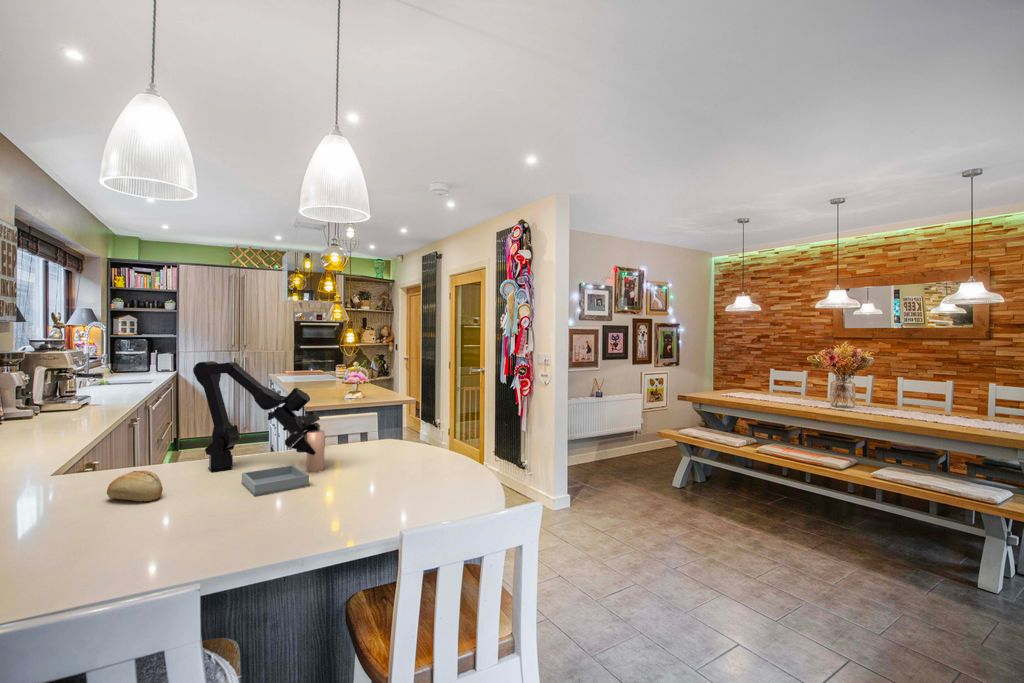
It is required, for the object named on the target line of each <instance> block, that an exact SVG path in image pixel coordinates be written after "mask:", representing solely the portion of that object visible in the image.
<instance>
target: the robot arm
mask: <svg viewBox="0 0 1024 683" xmlns="http://www.w3.org/2000/svg"><path fill="white" fill-rule="evenodd" d="M192 372H193V374H194V377H195V379H196V381H197V382H198V383H199V384H200V386H201V387H202V388H203V392H204V393H205V397H206V401H207V406H208V409H209V412H210V416H211V420H212V423H213V429H212V434H211V440H212V442H211V443H210V444H209V445H208V446H206V447H205V449H204V451H205V453H206V456H207V455H208V456H209V460H208V462H209V463H208V465H209V466H207V469H208V470H209V472H210V473H215V472H221V471H222V472H223V471H228V470H232V469H233V466H234V465H233V460H234V459H233V458H234V456H233V454H232V450H234V448H235V445H237V443H238V442H239V441H240V437H239V436H241V433H239V429H238V428H239V427H238V424H232V423H231V422H230V420H229V416H228V412H227V408H226V405H225V401H224V398H223V393H222V391H221V386H220V382H221V377H222V374H226V375H228V376H229V377H230V378H231V379H233V380H234V381H235V382H236V383H238V384H239V385H240V386H242V387H243V388H244V389H245V390H246V391H247V392H248V393H249V394H250V395H251V396H252V397H253V400H254V401H255V403H256V405H258V407H260V409H262V410H265V411H269V410H272V409H274V410H273V411H270V412H268V413H267V421H271V420H273V419H275V420H276V421H277V422H278V423H279V424H280V425H281V426H282V427H283V428H282V430H283V431H287V432H288V433H289V434H290V435H289V436H288V437H287V438H286V439H284V445H285V446H286V447H287V448H288V449H289V448H291V449H293V450H296V449H297V450H300V451H303V452H302V453H306V454H307V453H309V454H312V455H314V454H315V453H316V452H315V451H314V449H313V448H312V447H311V445H310V444H309V443H308V441H307V432H308V431H313V430H321V428H320V427H321V425H320V424H319V423H318V422H317V421H319V420H321V418H320V415H321V414H320V413H319V412H318V411H316V410H314V409H313V410H311V411H309V412H308V415H305V416H306V417H304V418H303V417H302V415H298V414H296V413H295V412H299V411H301V410H302V407H303V406H304V407H305V406H306V405H307V404H308V403H309V402H310V401H311V397H310V396H309V394H308V393H307V392H304V391H303V390H301V389H299V388H298V387H295V388H293V389H292V390H291V391H290V393H289V394H287V396H286V395H285V396H284V395H280V393H278V392H277V391H275V390H273V389H272V388H269V387H266V386H265V385H263V384H261V383H260V382H259V381H258V380H257V379H255V377H253V376H252V375H250V373H248V371H246V370H245V369H243V367H241V366H240V365H239V363H238V362H235V361H229V362H224V363H223V362H221V363H218V362H216V361H213V360H212V361H211V360H209V361H199V362H197V363H196V364H195V365H194V367H193V368H192ZM280 405H282V406H280ZM310 423H311V424H310Z"/></svg>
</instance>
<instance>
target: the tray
mask: <svg viewBox="0 0 1024 683" xmlns="http://www.w3.org/2000/svg"><path fill="white" fill-rule="evenodd" d="M241 485H242V486H243V487H244V488H245V487H246V488H247V489H248V490H249V491H250V492H251V493H252V494H253V495H254V496H255V497H259V495H260V496H265V495H270V494H269V493H271V494H275V493H274V492H276V493H280V491H281V492H285V490H286V491H290V490H289V489H292V490H296V488H297V489H301V488H300V487H302V488H306V487H305V486H307V487H309V486H310V475H309V474H308V473H306V471H305V472H304V471H303V470H302V469H300V468H298V467H297V466H295V464H289V465H285V466H277V467H272V468H270V467H269V468H266V469H258V470H252V471H246V472H242V473H241ZM247 489H246V490H247ZM249 491H248V492H249ZM250 492H249V493H250ZM251 493H250V494H251ZM252 494H251V495H252ZM264 494H265V495H264ZM253 495H252V496H253ZM254 496H253V497H254Z"/></svg>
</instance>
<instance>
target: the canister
mask: <svg viewBox="0 0 1024 683" xmlns="http://www.w3.org/2000/svg"><path fill="white" fill-rule="evenodd" d="M325 434H326V431H325V430H321V429H320V430H313V431H308V432H307V441H308V443H309V444H310V445H311V447H312V448H313V449H314V451H315V452H316V453H315V454H314V455H312V454H309V453H306V465H305V466H306V467H305V468H306V471H305V472H307V471H308V472H307V473H310V472H316V473H320V472H319V471H321V472H323V470H324V471H325V454H326V453H325V451H326V449H325V448H326V440H325V438H326V435H325Z"/></svg>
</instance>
